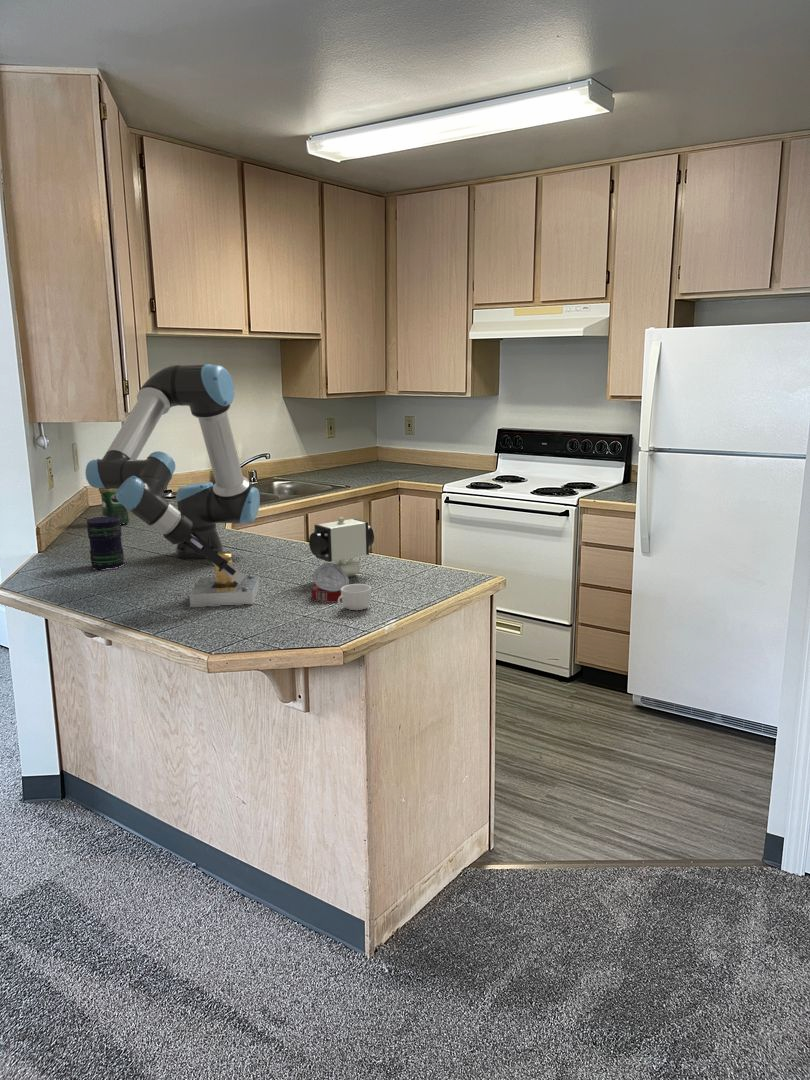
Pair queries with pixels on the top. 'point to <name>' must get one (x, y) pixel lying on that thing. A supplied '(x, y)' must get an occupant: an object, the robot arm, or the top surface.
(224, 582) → the gold metal cylinder
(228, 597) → the jig
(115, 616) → the top surface
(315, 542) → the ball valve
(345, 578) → the canned food
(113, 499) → the coffee jar
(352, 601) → the teacup
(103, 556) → the storage jar
